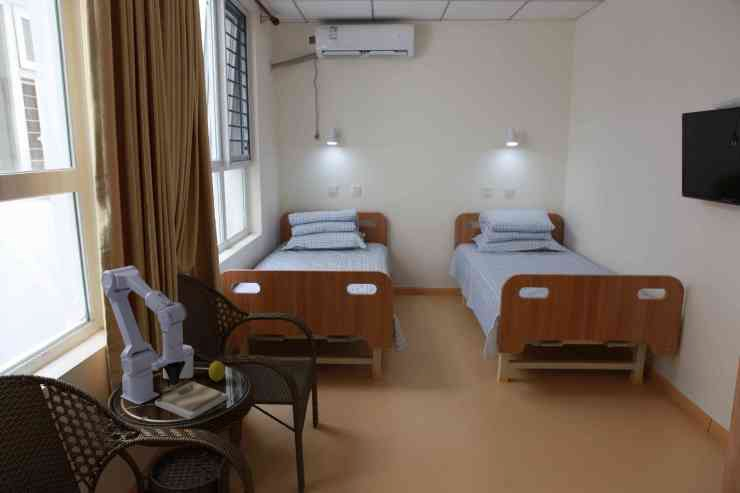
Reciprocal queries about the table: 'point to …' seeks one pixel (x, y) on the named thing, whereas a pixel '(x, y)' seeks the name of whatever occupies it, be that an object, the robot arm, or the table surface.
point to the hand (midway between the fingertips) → (174, 383)
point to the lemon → (216, 371)
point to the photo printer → (187, 369)
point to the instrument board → (191, 395)
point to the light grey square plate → (186, 412)
